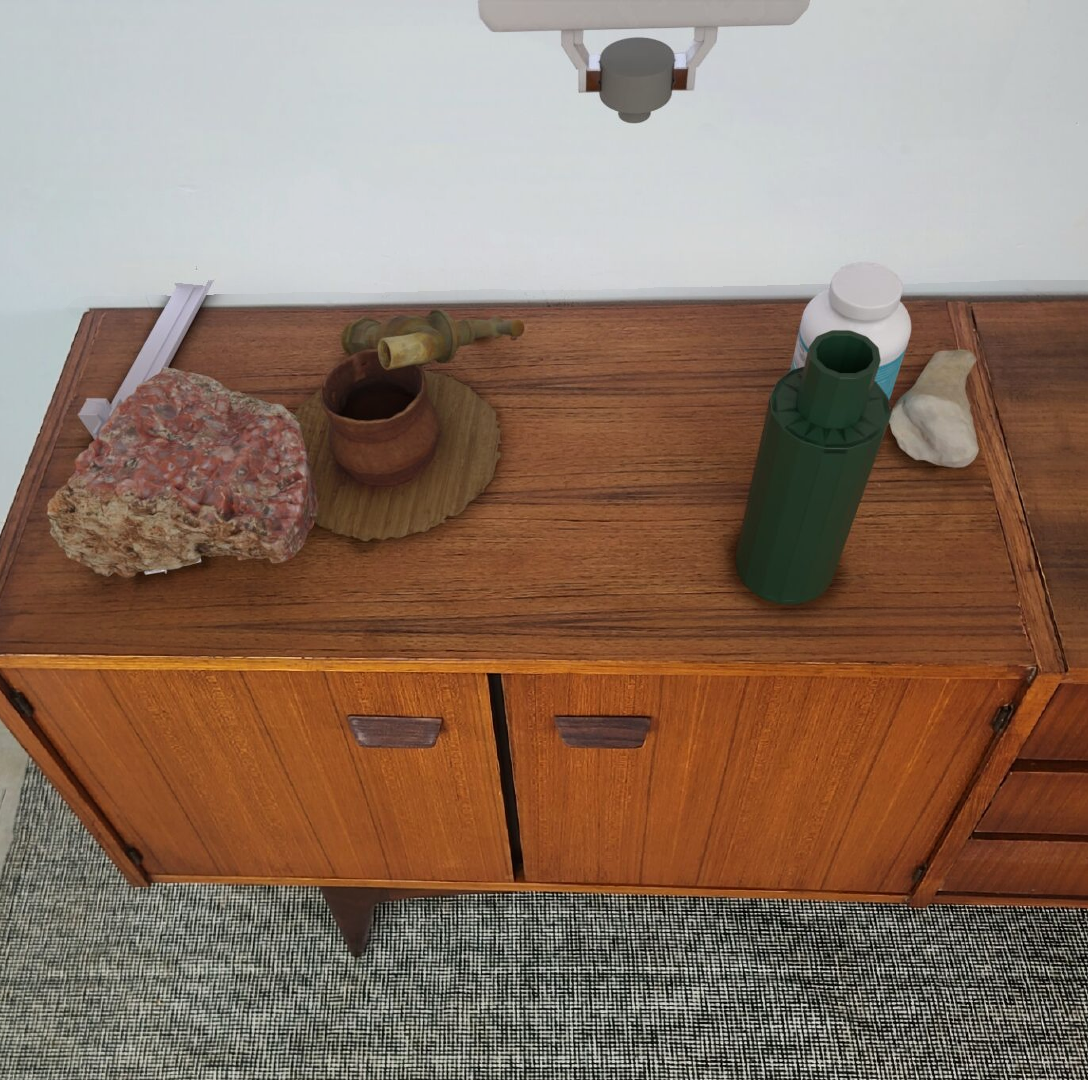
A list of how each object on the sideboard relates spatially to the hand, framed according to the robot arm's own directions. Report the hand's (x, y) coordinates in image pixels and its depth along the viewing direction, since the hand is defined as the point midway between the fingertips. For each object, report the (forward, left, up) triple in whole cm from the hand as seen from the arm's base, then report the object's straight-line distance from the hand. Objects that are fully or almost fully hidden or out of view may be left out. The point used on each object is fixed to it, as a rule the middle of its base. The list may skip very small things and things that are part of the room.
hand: (636, 87), depth 71 cm
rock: (+29, +12, -18) cm, 36 cm away
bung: (0, 0, -2) cm, 2 cm away
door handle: (+41, +3, -21) cm, 46 cm away
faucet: (+22, +9, -16) cm, 28 cm away
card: (+31, +22, -23) cm, 44 cm away
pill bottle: (-16, +9, -22) cm, 29 cm away
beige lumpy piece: (-24, +8, -23) cm, 34 cm away
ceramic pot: (+18, +13, -22) cm, 31 cm away
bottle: (-11, +23, -22) cm, 34 cm away
